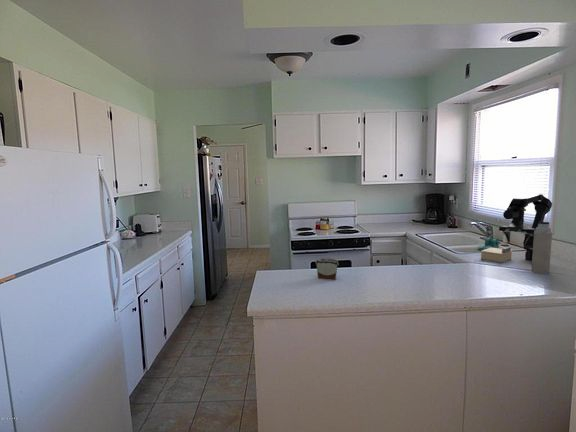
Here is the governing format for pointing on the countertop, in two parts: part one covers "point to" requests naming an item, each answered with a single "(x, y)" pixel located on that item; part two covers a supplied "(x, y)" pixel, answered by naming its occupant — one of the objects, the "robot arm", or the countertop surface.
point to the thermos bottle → (542, 248)
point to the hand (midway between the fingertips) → (516, 243)
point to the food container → (326, 268)
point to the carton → (496, 257)
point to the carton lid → (498, 250)
